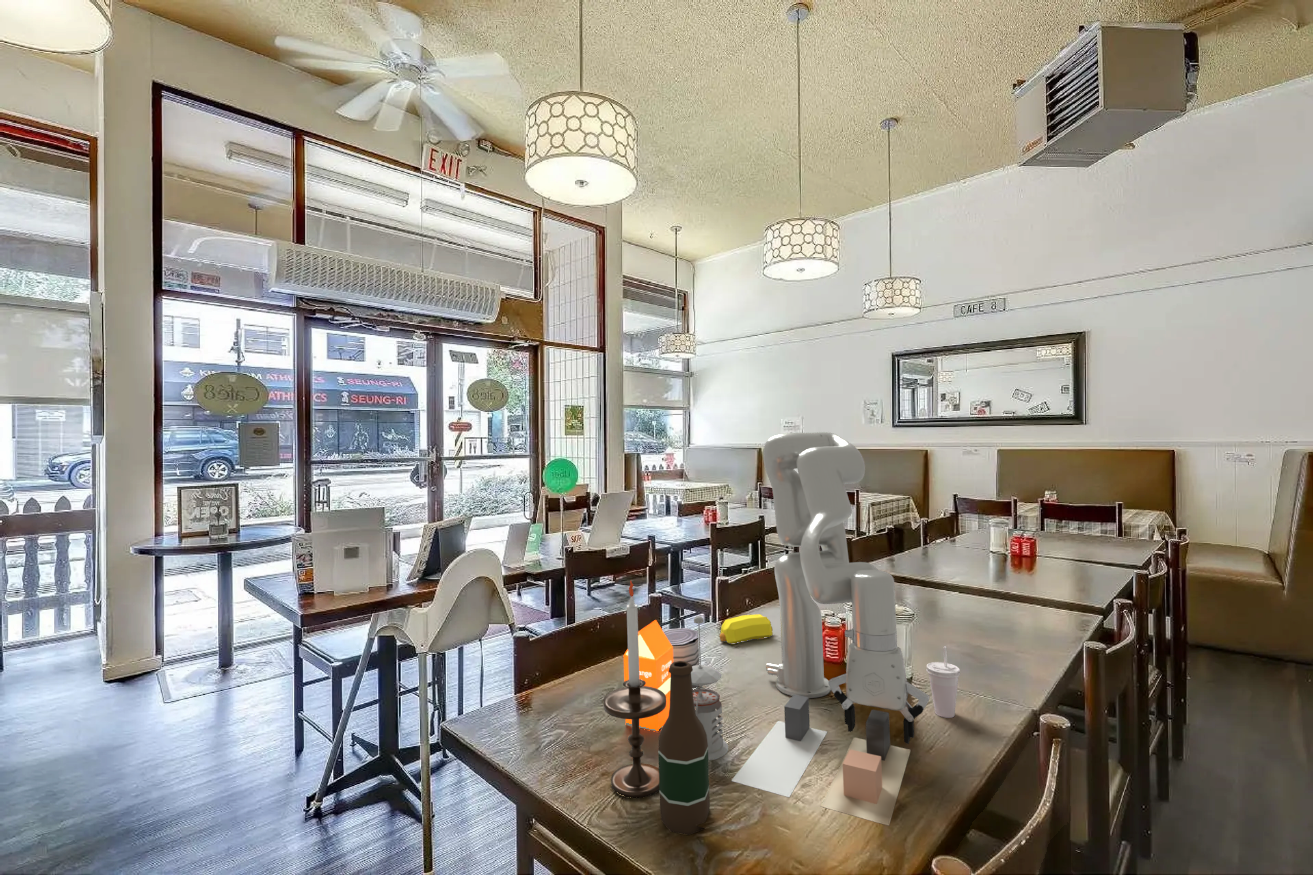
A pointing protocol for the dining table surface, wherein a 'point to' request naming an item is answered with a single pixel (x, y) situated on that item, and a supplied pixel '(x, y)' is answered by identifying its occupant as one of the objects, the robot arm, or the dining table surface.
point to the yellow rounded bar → (745, 628)
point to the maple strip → (891, 773)
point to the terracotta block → (862, 776)
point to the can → (684, 645)
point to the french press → (708, 704)
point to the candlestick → (635, 717)
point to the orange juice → (653, 669)
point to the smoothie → (944, 686)
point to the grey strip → (783, 751)
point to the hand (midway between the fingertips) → (879, 734)
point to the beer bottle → (683, 758)
